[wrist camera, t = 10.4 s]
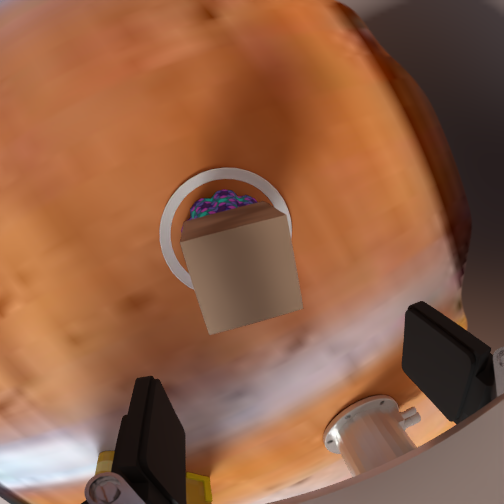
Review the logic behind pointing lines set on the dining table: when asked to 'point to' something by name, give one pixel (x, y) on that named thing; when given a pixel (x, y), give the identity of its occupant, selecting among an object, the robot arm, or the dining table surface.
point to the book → (195, 484)
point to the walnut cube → (241, 266)
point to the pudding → (212, 207)
